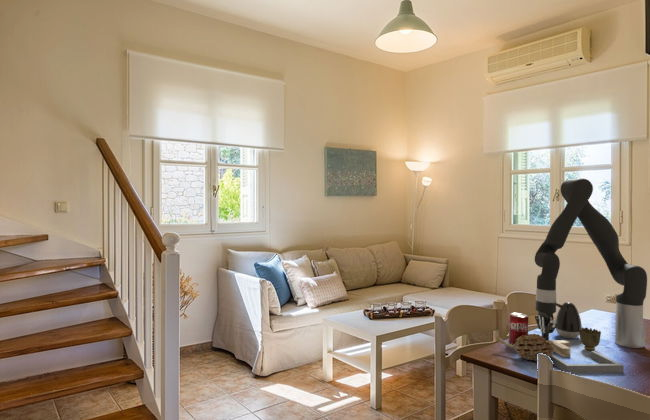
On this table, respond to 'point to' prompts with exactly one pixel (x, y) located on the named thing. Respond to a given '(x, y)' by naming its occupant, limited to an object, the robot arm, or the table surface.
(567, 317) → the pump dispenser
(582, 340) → the cup
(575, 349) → the table surface
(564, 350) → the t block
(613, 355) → the table surface
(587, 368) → the shallow grey tray
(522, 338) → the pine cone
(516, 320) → the soda can
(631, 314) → the robot arm
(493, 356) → the table surface
